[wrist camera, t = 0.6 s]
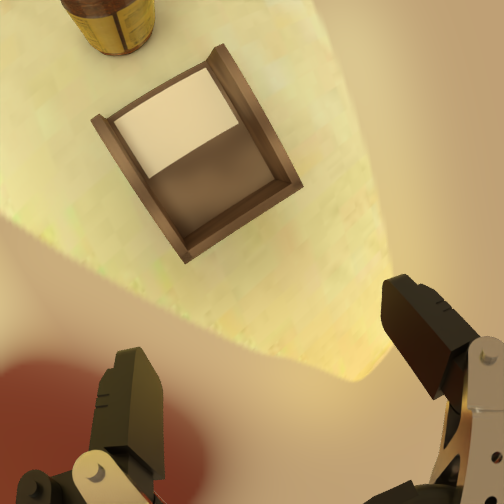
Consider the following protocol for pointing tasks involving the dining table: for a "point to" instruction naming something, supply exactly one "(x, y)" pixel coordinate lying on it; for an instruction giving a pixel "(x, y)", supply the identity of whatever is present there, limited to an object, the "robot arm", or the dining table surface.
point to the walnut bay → (200, 154)
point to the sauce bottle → (113, 23)
